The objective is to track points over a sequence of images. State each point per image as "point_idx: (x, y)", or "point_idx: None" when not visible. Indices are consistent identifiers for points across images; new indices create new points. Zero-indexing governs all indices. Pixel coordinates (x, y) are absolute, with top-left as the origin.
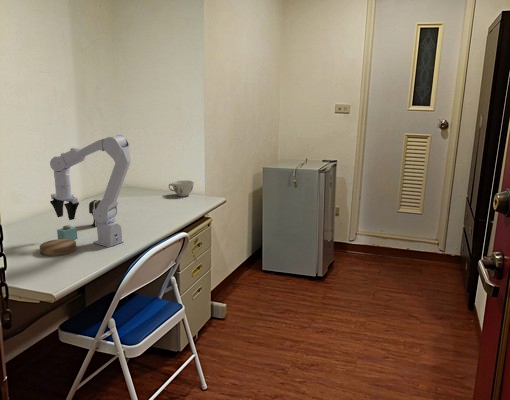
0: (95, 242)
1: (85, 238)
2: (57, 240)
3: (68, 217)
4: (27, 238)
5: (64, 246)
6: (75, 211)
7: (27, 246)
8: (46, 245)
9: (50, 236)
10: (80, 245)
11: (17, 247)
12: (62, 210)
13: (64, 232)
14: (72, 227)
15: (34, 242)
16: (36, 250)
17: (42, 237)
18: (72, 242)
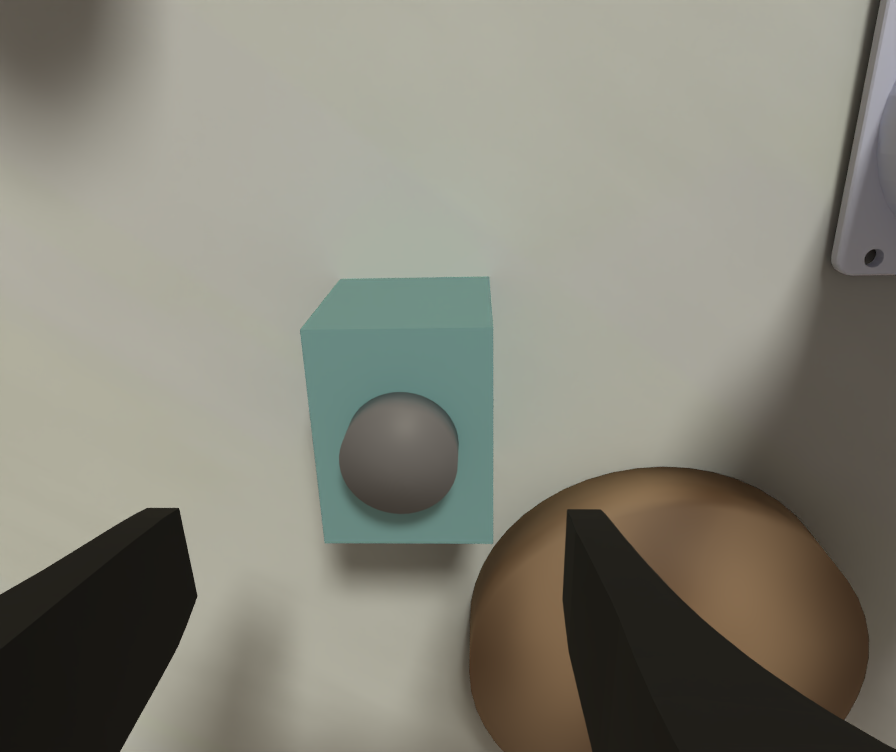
0: (889, 272)
1: (558, 192)
2: (538, 608)
3: (575, 658)
4: (7, 572)
5: (794, 680)
6: (695, 625)
7: (274, 693)
8: (585, 744)
9: (111, 403)
10: (732, 410)
11: (232, 743)
12: (98, 588)
13: (491, 525)
14: (416, 354)
15: (201, 604)
16: (455, 710)
17: (84, 473)
18: (770, 565)
